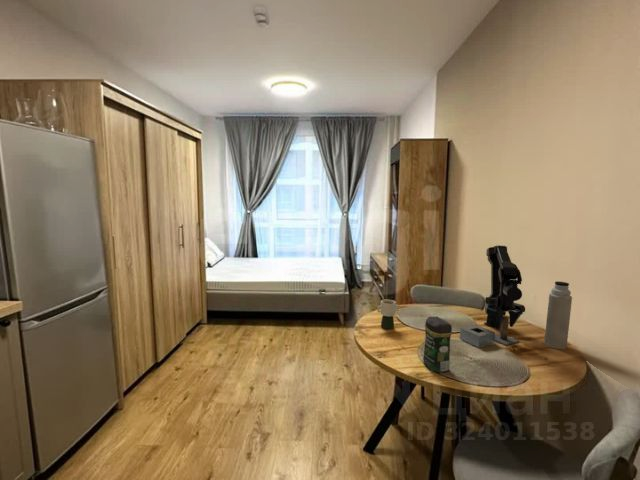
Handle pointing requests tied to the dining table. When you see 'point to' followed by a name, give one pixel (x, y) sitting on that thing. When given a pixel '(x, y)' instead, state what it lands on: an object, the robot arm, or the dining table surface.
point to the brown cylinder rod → (504, 328)
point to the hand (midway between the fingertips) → (504, 328)
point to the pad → (505, 342)
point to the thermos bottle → (558, 316)
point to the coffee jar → (437, 344)
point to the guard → (477, 335)
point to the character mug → (388, 313)
